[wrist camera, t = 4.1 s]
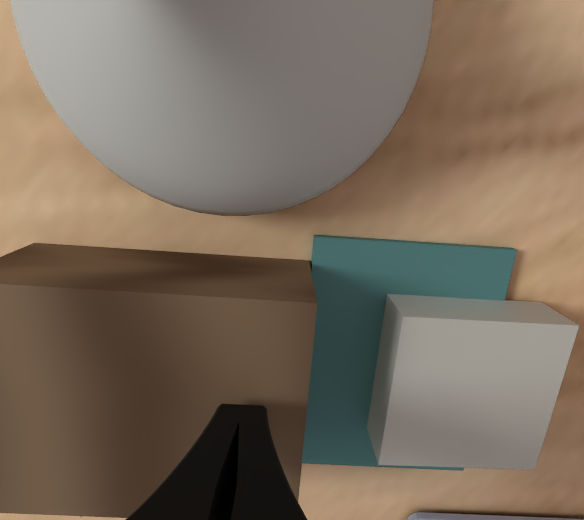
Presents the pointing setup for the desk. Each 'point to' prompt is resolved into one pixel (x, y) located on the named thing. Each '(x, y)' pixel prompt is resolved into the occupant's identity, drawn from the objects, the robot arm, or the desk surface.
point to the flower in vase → (227, 90)
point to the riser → (140, 367)
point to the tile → (466, 381)
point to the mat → (376, 326)
